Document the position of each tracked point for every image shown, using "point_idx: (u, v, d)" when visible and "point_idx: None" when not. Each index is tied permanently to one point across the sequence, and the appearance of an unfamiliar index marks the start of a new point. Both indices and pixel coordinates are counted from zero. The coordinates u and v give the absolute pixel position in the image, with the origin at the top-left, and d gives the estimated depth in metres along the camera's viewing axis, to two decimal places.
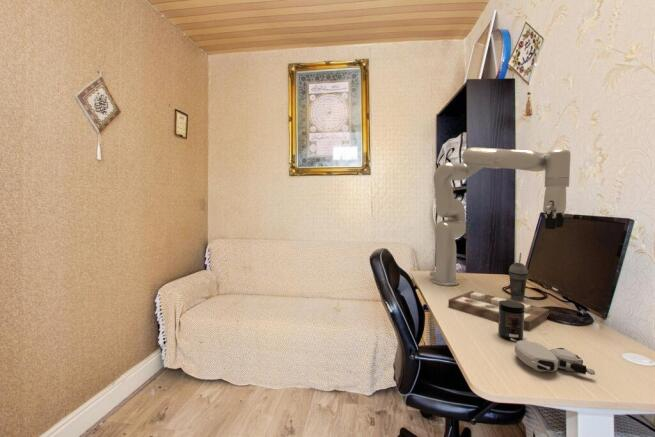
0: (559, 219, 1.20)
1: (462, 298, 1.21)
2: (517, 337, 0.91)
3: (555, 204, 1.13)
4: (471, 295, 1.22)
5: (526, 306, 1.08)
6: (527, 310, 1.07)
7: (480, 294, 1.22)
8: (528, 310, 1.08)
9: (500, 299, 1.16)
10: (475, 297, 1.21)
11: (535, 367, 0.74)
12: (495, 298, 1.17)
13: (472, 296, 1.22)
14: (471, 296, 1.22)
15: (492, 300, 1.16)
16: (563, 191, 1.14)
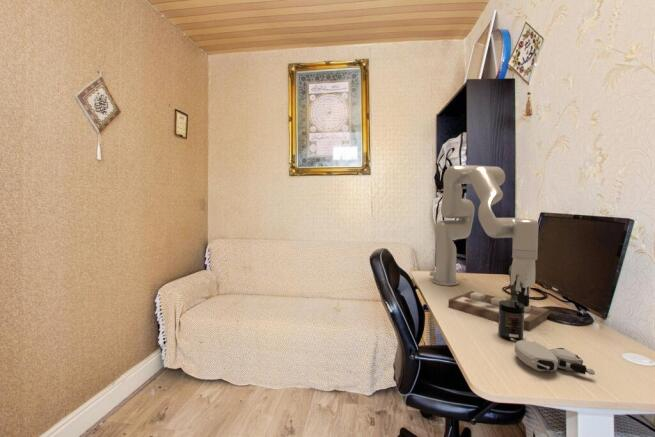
0: None
1: (462, 298, 1.21)
2: (517, 337, 0.91)
3: (522, 279, 1.05)
4: (471, 295, 1.22)
5: None
6: (527, 310, 1.07)
7: (480, 294, 1.22)
8: (528, 310, 1.08)
9: (500, 299, 1.16)
10: (475, 297, 1.21)
11: (535, 367, 0.74)
12: (495, 298, 1.17)
13: (472, 296, 1.22)
14: (471, 296, 1.22)
15: (492, 300, 1.16)
16: (531, 264, 1.06)
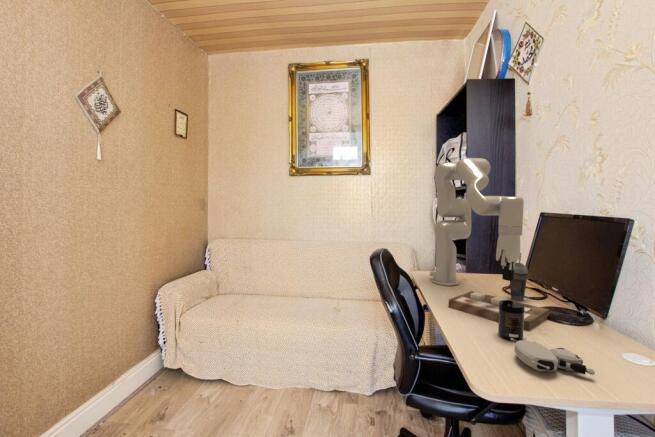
0: None
1: (462, 298, 1.21)
2: (517, 337, 0.91)
3: (507, 254, 1.08)
4: (471, 295, 1.22)
5: (526, 309, 1.08)
6: None
7: (480, 294, 1.22)
8: None
9: (500, 299, 1.16)
10: (475, 297, 1.21)
11: (535, 367, 0.74)
12: (495, 298, 1.17)
13: (472, 296, 1.22)
14: (471, 296, 1.22)
15: (492, 300, 1.16)
16: (516, 240, 1.10)
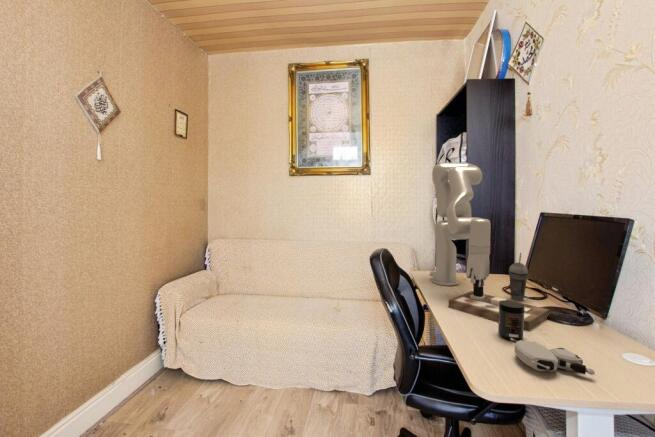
0: None
1: (462, 298, 1.21)
2: (517, 337, 0.91)
3: (475, 272, 1.17)
4: (471, 297, 1.22)
5: (526, 309, 1.08)
6: None
7: None
8: None
9: (500, 299, 1.16)
10: None
11: (535, 367, 0.74)
12: (495, 298, 1.17)
13: (472, 298, 1.22)
14: None
15: (492, 300, 1.16)
16: (484, 259, 1.19)
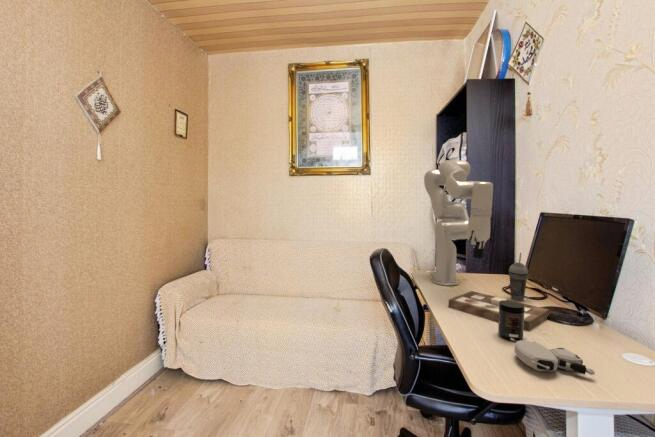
0: None
1: (462, 298, 1.21)
2: (517, 337, 0.91)
3: (476, 234, 1.19)
4: None
5: (526, 309, 1.08)
6: None
7: (480, 297, 1.22)
8: None
9: (500, 299, 1.16)
10: None
11: (535, 367, 0.74)
12: (495, 298, 1.17)
13: None
14: None
15: (492, 300, 1.16)
16: (485, 221, 1.20)
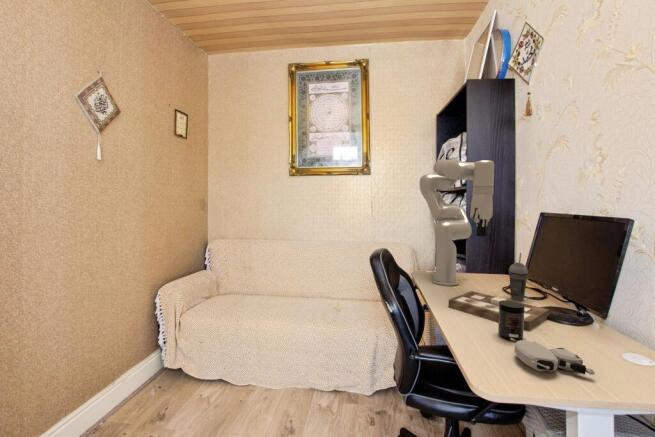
0: None
1: (462, 298, 1.21)
2: (517, 337, 0.91)
3: (479, 211, 1.21)
4: None
5: (526, 309, 1.08)
6: None
7: (480, 297, 1.22)
8: None
9: (500, 299, 1.16)
10: None
11: (535, 367, 0.74)
12: (495, 298, 1.17)
13: None
14: None
15: (492, 300, 1.16)
16: (487, 199, 1.22)
